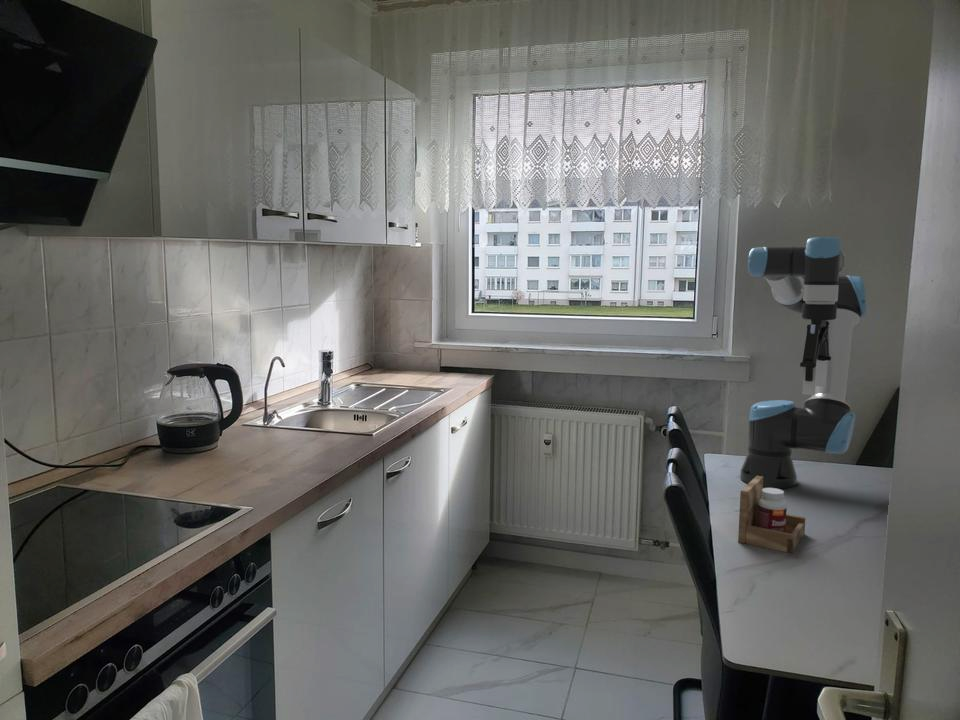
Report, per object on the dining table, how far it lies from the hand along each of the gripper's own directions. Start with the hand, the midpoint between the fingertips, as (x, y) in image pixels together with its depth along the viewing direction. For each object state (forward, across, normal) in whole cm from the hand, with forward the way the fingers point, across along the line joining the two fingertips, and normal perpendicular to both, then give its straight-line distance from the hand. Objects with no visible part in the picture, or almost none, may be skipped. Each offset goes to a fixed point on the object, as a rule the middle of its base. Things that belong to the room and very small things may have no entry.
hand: (814, 390), depth 175 cm
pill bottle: (+32, +20, -4) cm, 38 cm away
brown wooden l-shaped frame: (+32, +20, -4) cm, 38 cm away
